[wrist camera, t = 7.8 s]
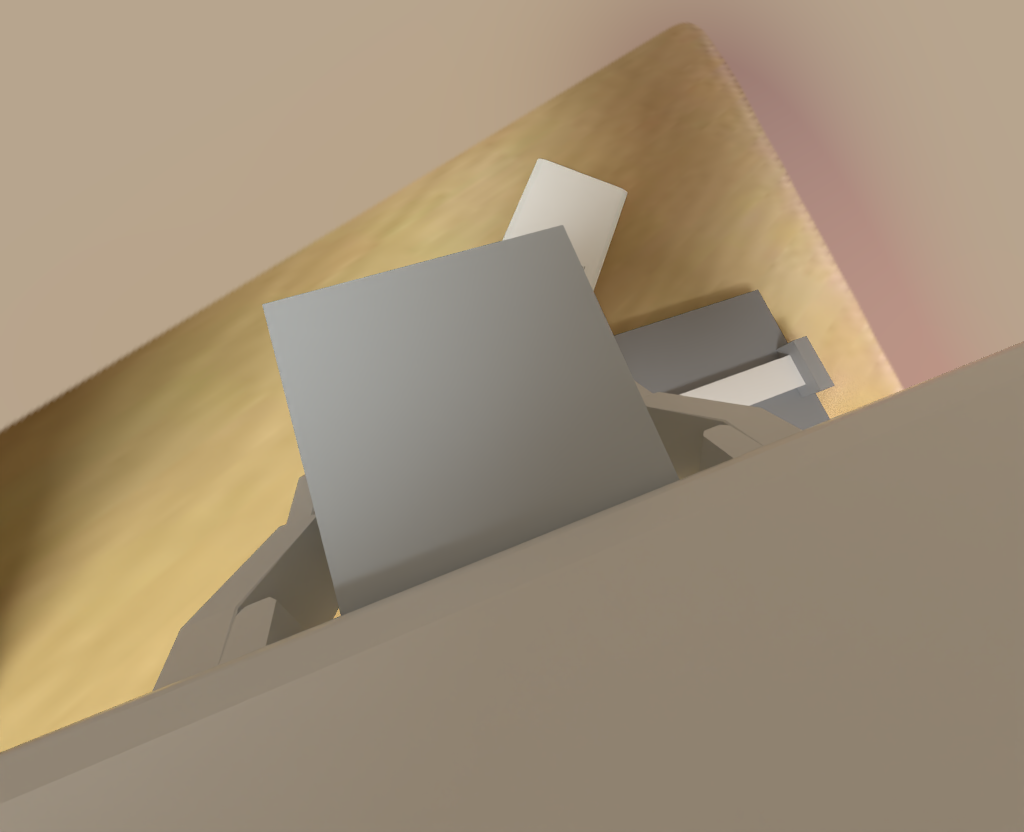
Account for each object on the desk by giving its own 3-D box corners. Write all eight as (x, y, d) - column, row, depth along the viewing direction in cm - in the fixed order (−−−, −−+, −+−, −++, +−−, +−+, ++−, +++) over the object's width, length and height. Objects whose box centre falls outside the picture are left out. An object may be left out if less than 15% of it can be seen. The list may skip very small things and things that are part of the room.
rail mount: (595, 558, 25) (610, 565, 22) (521, 372, 28) (526, 355, 25) (830, 457, 29) (872, 451, 26) (744, 299, 31) (773, 277, 28)
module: (443, 584, 13) (371, 731, 5) (392, 420, 14) (257, 287, 6) (572, 532, 14) (721, 571, 5) (513, 380, 15) (556, 210, 7)
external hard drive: (621, 205, 33) (580, 324, 30) (535, 172, 33) (484, 288, 30) (629, 190, 32) (586, 313, 29) (537, 156, 32) (485, 276, 28)
